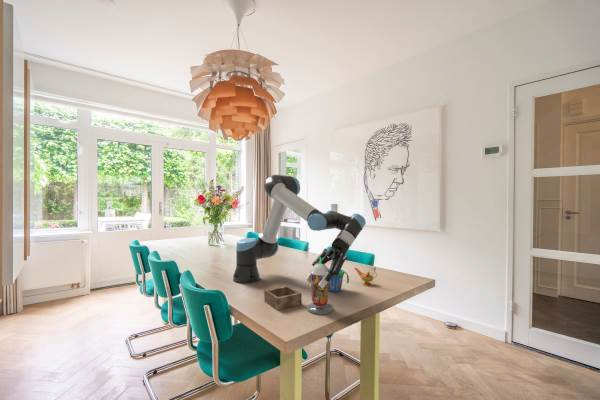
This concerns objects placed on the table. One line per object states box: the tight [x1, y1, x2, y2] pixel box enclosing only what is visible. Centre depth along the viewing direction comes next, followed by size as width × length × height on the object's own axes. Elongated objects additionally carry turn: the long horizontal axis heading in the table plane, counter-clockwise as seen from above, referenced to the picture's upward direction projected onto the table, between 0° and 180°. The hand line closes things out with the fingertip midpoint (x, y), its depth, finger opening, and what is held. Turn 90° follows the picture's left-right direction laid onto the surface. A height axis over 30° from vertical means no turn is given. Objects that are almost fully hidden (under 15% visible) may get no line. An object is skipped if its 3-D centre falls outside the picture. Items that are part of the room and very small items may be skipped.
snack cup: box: [328, 267, 350, 293], centre depth 145 cm, size 16×10×10 cm
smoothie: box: [310, 257, 330, 306], centre depth 119 cm, size 8×8×20 cm
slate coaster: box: [307, 302, 334, 316], centre depth 119 cm, size 11×11×1 cm
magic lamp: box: [354, 266, 378, 287], centre depth 156 cm, size 7×18×11 cm, turn 29°
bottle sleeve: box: [263, 285, 303, 311], centre depth 127 cm, size 12×12×5 cm
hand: (313, 283), depth 118 cm, fingers closed on smoothie, 8 cm apart
